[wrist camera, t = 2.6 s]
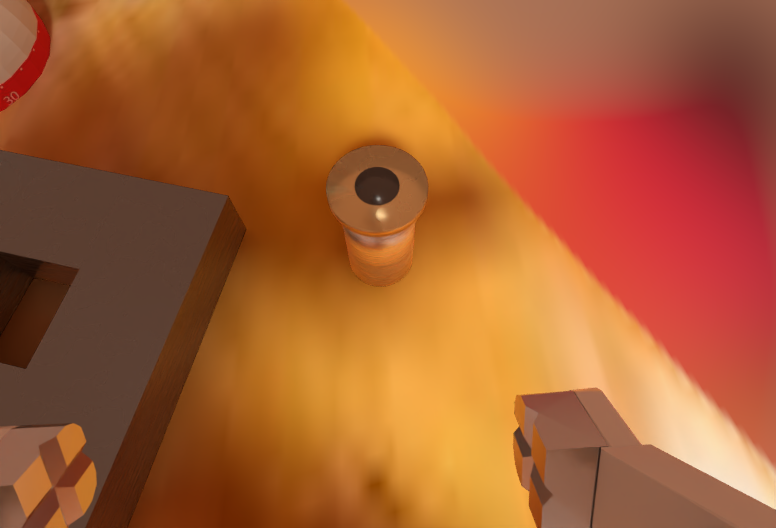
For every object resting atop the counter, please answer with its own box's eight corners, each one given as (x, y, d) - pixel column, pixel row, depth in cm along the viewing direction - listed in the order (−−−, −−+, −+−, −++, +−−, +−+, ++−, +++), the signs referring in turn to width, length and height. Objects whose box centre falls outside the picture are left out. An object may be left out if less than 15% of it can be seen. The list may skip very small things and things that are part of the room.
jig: (124, 533, 26) (80, 539, 22) (-182, 448, 28) (-268, 440, 24) (246, 229, 33) (228, 195, 29) (-2, 177, 35) (-47, 140, 31)
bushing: (411, 301, 31) (416, 239, 24) (332, 284, 31) (313, 219, 24) (427, 231, 33) (437, 153, 26) (352, 216, 33) (341, 136, 26)
